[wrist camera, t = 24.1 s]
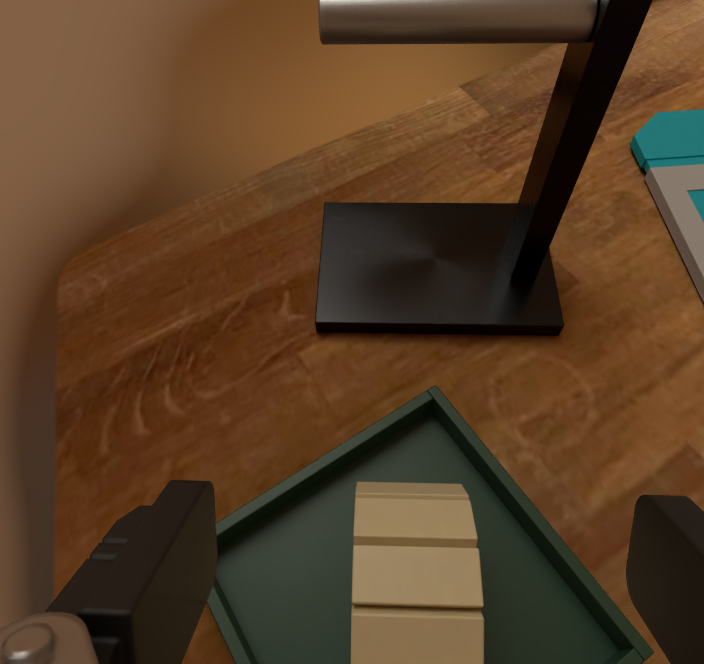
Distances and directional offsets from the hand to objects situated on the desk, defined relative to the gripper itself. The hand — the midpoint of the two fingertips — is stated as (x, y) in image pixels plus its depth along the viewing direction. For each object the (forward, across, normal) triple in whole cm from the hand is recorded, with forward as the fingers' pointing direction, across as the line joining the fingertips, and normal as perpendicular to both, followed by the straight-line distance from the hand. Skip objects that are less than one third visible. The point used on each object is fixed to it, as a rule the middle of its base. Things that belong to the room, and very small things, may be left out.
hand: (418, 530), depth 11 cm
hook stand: (+28, -3, -1) cm, 28 cm away
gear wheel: (+11, -1, +10) cm, 14 cm away
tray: (+14, -1, +13) cm, 19 cm away
